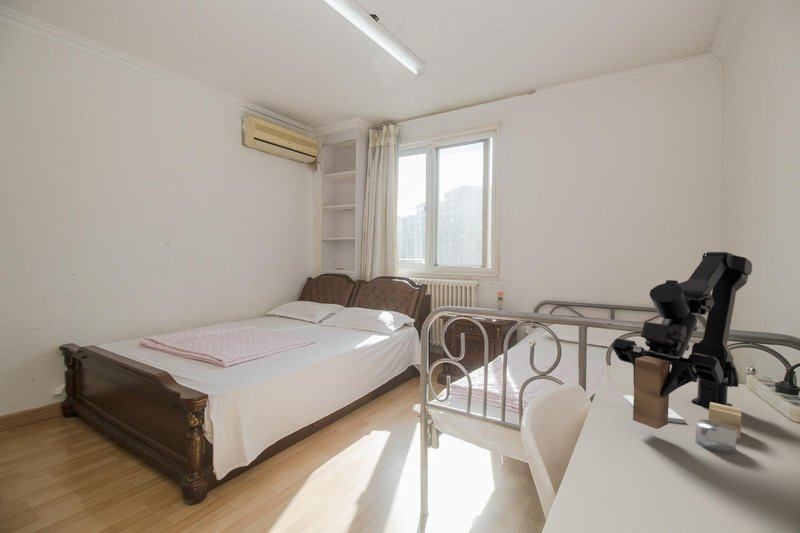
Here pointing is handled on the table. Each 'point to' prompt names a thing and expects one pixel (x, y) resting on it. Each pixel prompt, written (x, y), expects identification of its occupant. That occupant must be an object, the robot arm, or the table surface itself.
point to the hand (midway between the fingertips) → (648, 391)
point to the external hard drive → (671, 414)
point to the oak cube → (726, 416)
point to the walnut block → (650, 391)
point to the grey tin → (716, 437)
